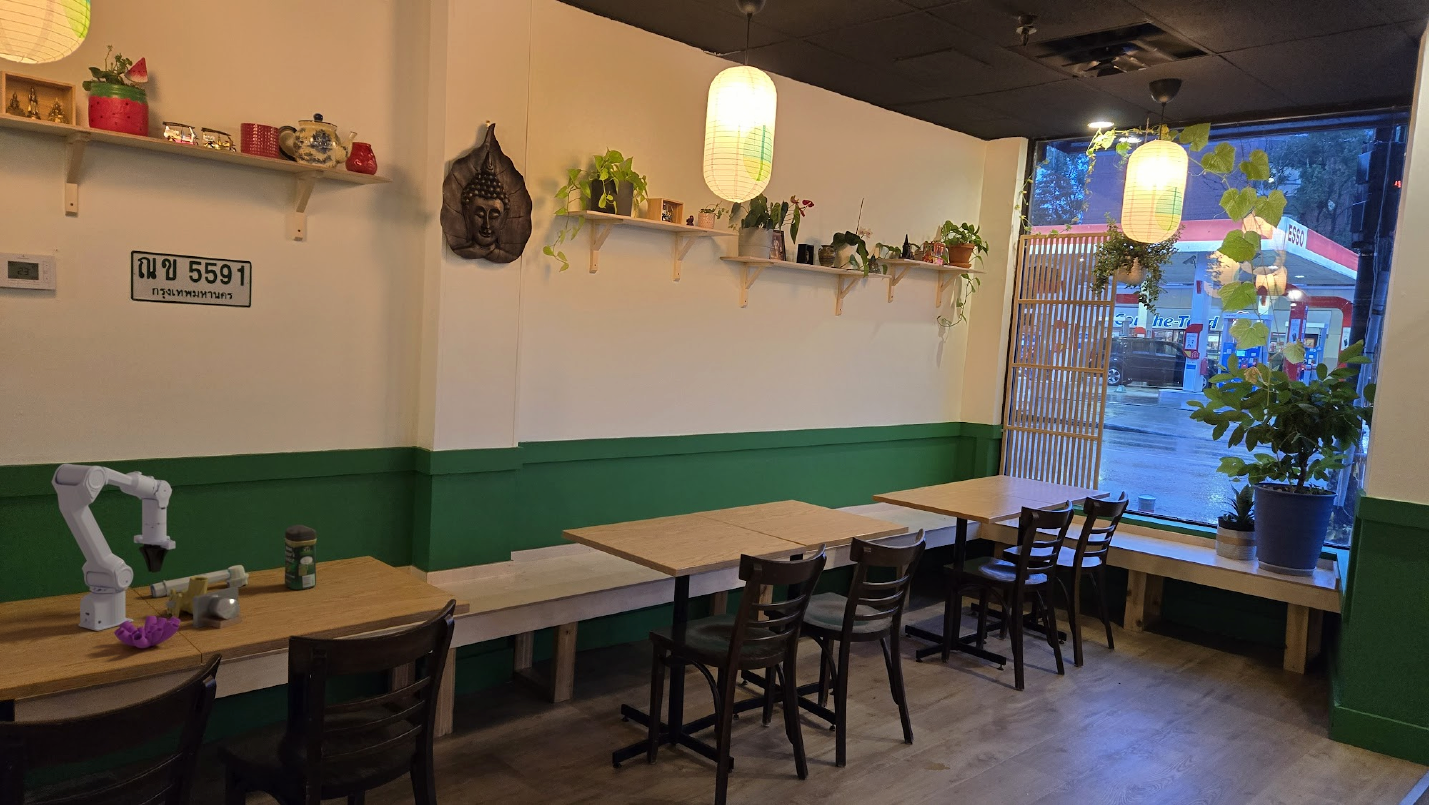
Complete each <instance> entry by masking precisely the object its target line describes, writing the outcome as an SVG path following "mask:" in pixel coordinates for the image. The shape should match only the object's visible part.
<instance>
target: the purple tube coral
mask: <svg viewBox="0 0 1429 805" xmlns="http://www.w3.org/2000/svg"><path fill="white" fill-rule="evenodd" d="M144 621H145V622H144V626H143V625H142V626H139V627H135V625H134V624H132V622H129V621H125V622H123V623H121V624H120V625H118V626H119V627H118V628H117V629H115V630H114V632H113V633H114V635H115V637H116V638H117V639H118V640H119V641H120V642H122V643H123V644H126V645H128V646H133V647H137V648H138V649H147V648H149V647H153V646H155V645H158V644H161V643H163V642H164V641H167V640H169V639H170V638H171V637H173V636H174V635H175V634H176V633H177V631H178V630H179V628H180V626H179V625H180V624H181V619H179V617H178V618H176V617H173V616H171V617H170V618H169V619H167V618H165V617H158V618H157V616H156V615H148V616H146V617H145V620H144Z"/></svg>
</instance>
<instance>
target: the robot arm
mask: <svg viewBox="0 0 1429 805" xmlns="http://www.w3.org/2000/svg"><path fill="white" fill-rule="evenodd" d="M142 474H143V473H142V471H141V472H140V471H136V470H134V471H133V472H128V473H126V474H124V473H122V472H121V471H120V472H119V471H116V470H114V469H111V468H108V467H105V466H100V465H84V464H82V465H81V464H71V463H63V464H60V465H59V466H58V467H57V468H56V470H55V472H54V474H53V477H52V480H51V484H52V486H53V488H54V490H55V492H56V494H57V501H58V508H59V511H60V513H61V514H62V516H63V518H64V520H65V522H66V524H67V526H68V528H69V530H70V531H71V534H72V536H73V537H74V539H75V541H76V543H77V545H78V547H79V548H80V550H81V552H82V554H83V556H84V558H85V560H86V562H85V563H84V564H83V566H82V567H81V570H82V572H83V577H84V578H83V579H84V583H85V585H86V586H88V587H89V591H91V592H90V593H88V594H86V595H84V596H81V598H80V602H79V623H78V627H81V628H85V629H89V630H93V631H98V632H99V631H102V630H107V629H111V628H114V627H118V626H119V625H120V624H121V623H123V622H125V621H129V622H130V623H133V622H134V619H132V618H129V617H126V590H128V589H129V587H130V585H131V584H132V582H133V579H134V571H133V568H132V567H131V566H129V565H127V564H126V562H125V560H123V559H122V558H120V557H119V556H118V555H116V554H114V553H112V552H113V551H112V550H111V548H110V546H109V544H108V542H107V540H106V538H105V537H104V535H103V533H102V531H101V529H100V526H99V524H98V523H97V521H96V518H95V517H94V515H93V513H92V510H91V509H90V507H89V505H91V504H93V503H94V501H95V500H96V498H97V497H98V495H99V494H100V492H101V490H102V489H103V487H104V486H107V485H113V486H116V487H119V489H120V491H121V492H123V493H124V494H128V495H131V496H134V497H137V498H138V499H139V500H141V502H142V503H141V508H142V510H141V511H142V513H141V519H142V520H141V522H142V524H141V525H142V527H141V533H142V534H137V535H134V536H133V543H135V544H143V546H142V545H141V546H139V547H138V551H139V552H140V553H141V555H142V557H143V559H144V562H145V565H146V567H147V571H148V572H149V573H153V574H155V573H159V572H161V571H162V567H163V563H164V561H165V558H166V556H167V554H168V552H169V551H170V550H172V549H173V550H174V549H176V541H175V540H172V539H171V537H170V536H169V535H167V507H169V504H170V503H169V502H170V501H169V500H170V498H171V495H172V491H173V488H171V485H170V483H168V481H166V480H164V479H163V480H162V479H155V477H154V476H152V475H142Z"/></svg>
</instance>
